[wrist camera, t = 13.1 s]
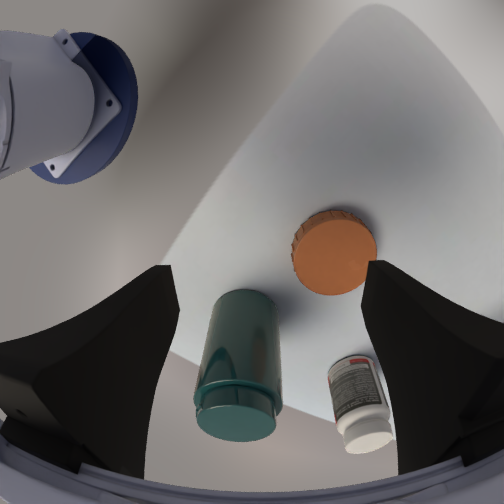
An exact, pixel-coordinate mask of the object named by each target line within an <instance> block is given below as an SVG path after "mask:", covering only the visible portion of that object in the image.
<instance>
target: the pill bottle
mask: <svg viewBox="0 0 504 504" xmlns="http://www.w3.org/2000/svg"><path fill="white" fill-rule="evenodd" d="M328 383H329V388H330V393H331V398H332V404H333V410H334V415H335V421H336V427H337V430H338V431H339V433H341V434H342V435H343V440H344V445H345V450H346V451H347V452H349V453H352V454H361V453H367V452H371V451H373V450H376V449H378V448H381V447H383V446H384V445H386V444H387V443H389V442H390V441H391V439H392V437H393V434H392V430H391V425H390V423H389V422H388V420H389V418H390V409H389V406H388V403H387V400H386V397H385V394H384V391H383V388H382V385H381V382H380V379H379V376H378V373H377V370H376V366H375V364H374V362H373V361H372V360H371V359H370V358H368V357H365V356H352V357H348V358H345V359H343V360H341V361H339V362H338V363H336V364H335V365H334V366H333V367H332V368H331V369H330V371H329V373H328Z"/></svg>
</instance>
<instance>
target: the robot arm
mask: <svg viewBox="0 0 504 504" xmlns="http://www.w3.org/2000/svg"><path fill="white" fill-rule="evenodd" d="M67 40H68V42H67V44H66V45H65V42H66V41H67ZM110 100H112V102H113V104H112V106H109V101H110ZM121 109H122V106H121V103H120V102H119V101H118V99H117V98H116V97H115V95H114V94H113V93H112V91H111V90H110V89H109V87H108V86H107V85H106V83H105V82H104V80H103V79H102V78H101V76H100V75H99V74H98V72H97V71H96V70H95V68H94V67H93V66H92V64H91V63H90V61H89V60H88V59H87V57H86V56H85V55H84V53H83V52H82V51H81V49H80V48H79V46H78V45H77V44H76V42H75V41H74V40H73V38H72V37H71V35H70V34H69V33H68V31H67V30H65V29H60V30H59V31H58V32H57V33H56V34H55V35H54V36H53V37H49V36H44V35H37V34H31V33H24V32H16V31H8V30H4V31H0V179H3V178H5V177H7V176H9V175H12V174H14V173H16V172H19V171H21V170H23V169H26V168H28V167H31V166H33V165H36V164H38V163H41V162H44V164H45V165H46V167H47V168H48V170H49V171H50V173H51V174H52V176H53V177H54V178H59V177H60V176H62V174H63V173H64V172H65V171H66V170H67V168H68V167H69V166H70V165H71V164H72V162H73V161H74V160H75V159H76V158H77V157H78V156H79V154H80V153H81V152H82V151H83V150H84V149H85V148H86V147H87V146H88V144H89V143H90V142H91V141H92V140H93V139H94V138H95V137H96V136H97V135H98V134H99V133H100V132H101V131H102V130H103V129H104V128H105V127H106V126H107V125H108V124H109V123H110V122H111V121H112V120H113V119H114V118H115V117H116V116H117V115H118V114H119V113H120V111H121ZM53 165H54V166H55V169H54V168H53ZM361 309H362V313H363V318H364V322H365V326H366V329H367V332H368V334H369V337H370V339H371V342H372V345H373V347H374V350H375V352H376V355H377V357H378V360H379V363H380V365H381V368H382V371H383V373H384V376H385V380H386V383H387V387H388V391H389V396H390V401H391V406H392V411H393V418H394V424H395V431H396V441H397V451H398V476H394V477H390V478H386V479H381V480H377V481H372V482H367V483H361V484H356V485H350V486H343V487H336V488H328V489H318V490H307V491H292V492H233V491H232V492H231V491H218V490H207V489H196V488H189V487H181V486H175V485H169V484H163V483H158V482H153V481H147V480H144V467H145V451H146V443H147V435H148V427H149V421H150V415H151V409H152V404H153V399H154V395H155V390H156V386H157V383H158V379H159V376H160V373H161V370H162V368H163V365H164V362H165V359H166V357H167V354H168V351H169V348H170V346H171V343H172V340H173V337H174V334H175V331H176V327H177V322H178V317H179V312H180V308H179V303H178V299H177V294H176V289H175V285H174V280H173V275H172V270H171V265H155V266H153V267H151V268H150V269H148V270H146V271H145V272H144V273H142V274H141V275H139V276H138V277H136V278H135V279H133V280H132V281H131V282H129V283H128V284H126V285H125V286H124V287H122V288H121V289H119V290H118V291H116V292H115V293H113V294H112V295H110V296H109V297H107V298H106V299H104V300H103V301H101V302H100V303H98V304H97V305H95V306H93V307H92V308H90V309H88V310H86V311H84V312H83V313H81V314H79V315H77V316H75V317H73V318H71V319H69V320H67V321H64V322H62V323H60V324H58V325H56V326H53V327H51V328H49V329H46V330H43V331H40V332H38V333H35V334H32V335H29V336H26V337H22V338H19V339H14V340H10V341H6V342H2V343H0V408H1V409H2V410H3V412H4V413H5V414H6V415H7V417H6V420H5V421H4V422H3V421H2V420H1V419H0V498H1V499H3V500H4V501H5V502H6V503H8V504H504V323H501V322H498V321H495V320H492V319H490V318H487V317H485V316H482V315H480V314H477V313H475V312H473V311H470V310H468V309H466V308H464V307H462V306H460V305H458V304H456V303H454V302H452V301H450V300H448V299H446V298H445V297H443V296H441V295H440V294H438V293H436V292H435V291H433V290H431V289H430V288H428V287H426V286H425V285H423V284H422V283H420V282H419V281H417V280H416V279H414V278H413V277H411V276H409V275H408V274H406V273H405V272H403V271H402V270H400V269H399V268H397V267H395V266H394V265H392V264H390V263H389V262H387V261H385V260H373V261H369V262H368V268H367V274H366V280H365V286H364V292H363V297H362V302H361Z"/></svg>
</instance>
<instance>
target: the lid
mask: <svg viewBox="0 0 504 504" xmlns="http://www.w3.org/2000/svg"><path fill="white" fill-rule="evenodd" d="M371 234H372V233H371V232H370V230H369V229H368V228H367V226H365V224H364V223H363V222H362V220H361V219H360V218H359V219H358V218H357V217H355V216H354V215H353V214H352V213H351V214H349V213H347V212H343V211H342V210H341V211H332V210H330V211H327V212H323V213H320V212H319V214H317V215H315V216H313V217H312V218H309V220H307V221H306V222H305V223H304V224H303V225H301V227H300V229H299V230H298V232H297V233H296V234H295V238H294V241H293V244H291V246H292V253H291V257H292V262H294V263H293V265H294V271H295V272H296V274H297V276H298V278H299V280H300V281H301V283H302V284H303V285H304V286H305V287H307V288H308V289H310V290H311V291H313V292H315V293H318V294H322V295H340V294H344V293H347V292H349V291H352V290H353V289H355V288H357V287H358V286H360V285H361V284H362V283H363V282H364V281H365V280H366V274H367V268H368V262H369V261H373V260H376V257H377V249H376V244H375V241H374V238H373V236H372V235H371Z"/></svg>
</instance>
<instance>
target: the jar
mask: <svg viewBox="0 0 504 504" xmlns="http://www.w3.org/2000/svg"><path fill="white" fill-rule="evenodd" d="M193 400H194V404H195V406H196V418H197V423H198V425H199V427H200V428H201V429H202V430H203V431H204V432H206V433H207V434H209V435H211V436H213V437H216V438H219V439H222V440H227V441H235V442H249V441H256V440H260V439H263V438H265V437H267V436H269V435H270V434H272V433H273V431H274V430H275V428H276V416H278V414H279V413H280V412H281V410H282V407H283V394H282V371H281V351H280V331H279V314H278V310H277V308H276V306H275V304H274V303H273V302H272V301H271V300H270V299H269V298H268V297H267V296H265V295H263V294H261V293H259V292H256V291H252V290H236V291H232V292H229V293H227V294H225V295H224V296H222V297H221V298H220V299H219V300H218V301H217V302H216V303H215V305H214V307H213V311H212V315H211V319H210V324H209V328H208V333H207V337H206V342H205V346H204V351H203V355H202V360H201V364H200V369H199V373H198V378H197V383H196V387H195V392H194V398H193Z"/></svg>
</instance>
